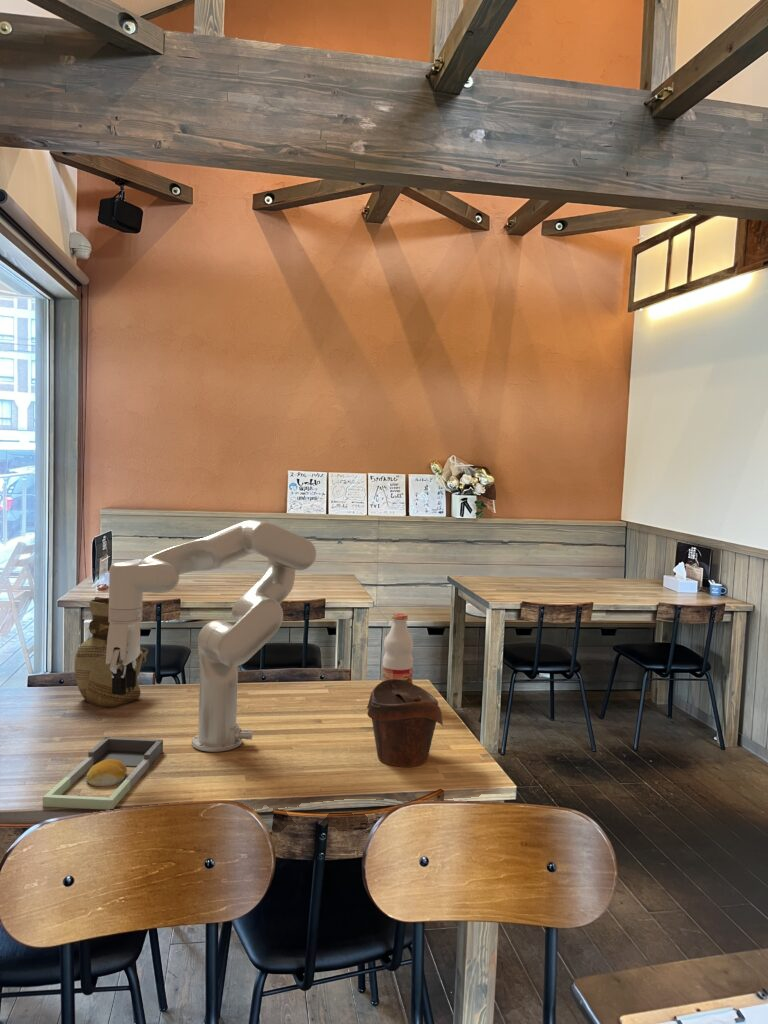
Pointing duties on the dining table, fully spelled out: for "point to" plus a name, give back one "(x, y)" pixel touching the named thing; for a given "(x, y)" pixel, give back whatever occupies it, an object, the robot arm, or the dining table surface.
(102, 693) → the ceramic vessel
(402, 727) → the brown trash bin
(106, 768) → the bread roll
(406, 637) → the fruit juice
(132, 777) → the channel
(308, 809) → the dining table surface
